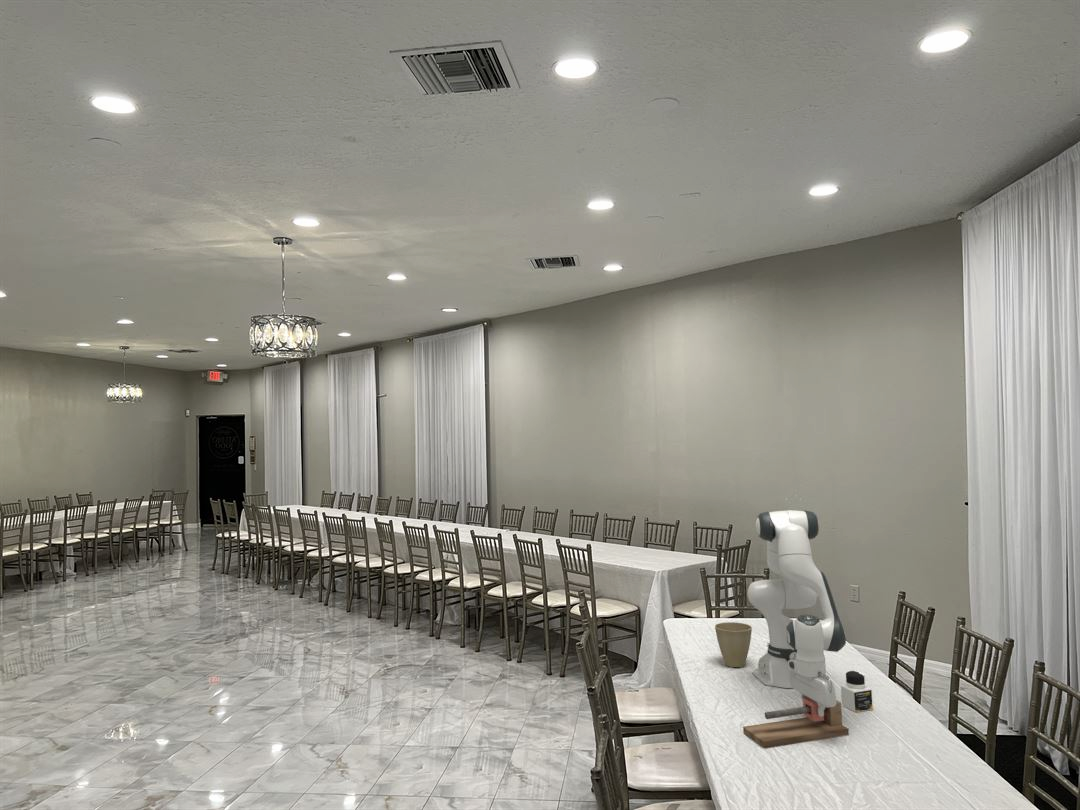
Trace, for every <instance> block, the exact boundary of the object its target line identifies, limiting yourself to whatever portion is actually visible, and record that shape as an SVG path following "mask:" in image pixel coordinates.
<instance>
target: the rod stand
mask: <svg viewBox="0 0 1080 810" xmlns="http://www.w3.org/2000/svg"><path fill="white" fill-rule="evenodd" d="M836 701H837V703H836V705H835V706H834V707H825V709H824V720H822V721H816V722H814V721H812V720H811V719H809V718H807V717H806V716H804V717H799V718H792V719H786V720H780V721H779V720H778V721H774V722H773V721H772V722H766V723H759V724H753V725H752V724H751V725H746V726H743V727H742V728H743V729H742V730H743V734H744V735H745V734H746V736H747V737H748V738H749V737H750V738H749V739H751V740H752V741H754V742H755V743H756V744H758V745H759V746H760V747H762V749H769V748H775V746H776V747H781V746H780V745H782V746H787V745H795V744H800V743H806V741H807V742H813V741H819V740H826V739H832V738H837V737H838V736H839V737H845V736H849V735H850V732H849V727H847V726H845V725H843V714H842V713H843V712H842V701H841V702H840V701H839V700H837V699H836ZM805 713H811V706H805V707H803V706H799V707H793V708H786V709H780V710H771V711H766V712H764V717H765V719H766V720H771V719H777V718H785V717H792V716H797V715H804V714H805ZM844 735H845V736H844ZM831 737H832V738H831Z"/></svg>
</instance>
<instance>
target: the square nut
mask: <svg viewBox="0 0 1080 810" xmlns="http://www.w3.org/2000/svg"><path fill="white" fill-rule="evenodd" d="M805 706H811V713H805V714H803V716H804V717H807V718H809V719H811V720H812V721H814V722H816V721H822V720H824V716H821V717H820V716H818V715H817V714H816V713H817V712H816V709H818V707H819V706H818V704H817V702H816V701H814V700H812V699H811V698H809V697H804V698H803V701H802V707H805Z"/></svg>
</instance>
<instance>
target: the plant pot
mask: <svg viewBox="0 0 1080 810" xmlns="http://www.w3.org/2000/svg"><path fill="white" fill-rule="evenodd" d="M714 629H715V635H716V640H717V643H718V647H719V650H720V653H721V655H722V659H723V662H724V664H725V666H726V665H727V666H726V667H728V666H729V667H728V668H731V667H741V668H744V667H743V666H745V664H746V662H747V658H748V655H749V651H750V646H751V639H752V631H753V627H752V625H750V624H747V623H744V622H738V621H737V622H735V621H733V622H732V621H729V622H728V621H726V622H718V623H716V624H715V625H714Z"/></svg>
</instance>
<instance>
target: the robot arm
mask: <svg viewBox="0 0 1080 810" xmlns="http://www.w3.org/2000/svg"><path fill="white" fill-rule="evenodd" d="M755 530H756V533H757V535H758V538H760V539H762V540H763V541H767V544H766V546H767V547H766V550H767V551H766V552H767V553H766V554H767V555H766V556H767V557H766V559H767V560H766V561H767V562H766V563H767V564H766V565H767V566H768V568H769V569H770V571H772V572H773V573H775V574H777V575H779V576H780V577H782V578H780V579H760V580H756V581H752V582H751V583H750V585H749V586H748V588H747V598H748V601H749V603H750V604H751V605H752V606H753V607H754V608H755V609H757V610H758V611H759V612H760V613H761V614H762V615H763V617H764V619H765V620H766V624H767V627H768V637H769V642H768V643H766V644H767V645H766V647H767V651H766V653H765V654H764V655H762V656H761V657H759V659H758V663H757V666H758V668H757V669H756V668H755V669H754V670H752V674H753V675H754V677H756V678H757V679H758V680H759V681H760V682H761V683H762V684H763V685H764V686H768V687H770V686H771V687H777V688H781V689H782V688H783V689H793V690H795V691H797V692H798V693H799V694H800V698H801V701H802V702H803V698H804V697H809V698H811V699H812V700H814V701H816V702H817V704H818V706H819V707H818V709H816V712H817V713H816V714H817V715H818V716H820V717H821V716H824V709H825V707H834V706H835V705H836V703H837V701H838V700H837V693H836V688H835V684H834V683H833V680H831V678H830V676H828V674H827V669H826V668H827V667H826V665H827V664H826V657H825V656H826V655H825V653H824V652H825V651H826V652H834V653H838V652H839V651H841V650H842V649H843V648H844V647H845V646H846V644H847V635H846V632H845V629H844V627H843V625H842V624H843V623H842V621H841V619H840V616H839V613H838V609H837V607H836V604H835V603H836V602H835V600H834V597H833V593H832V591H831V587H830V585H829V582H828V580H827V576H826V575H825V573H824V572H823V571H822V570H819V569H818V568H817V566H816V564H815V563H814V559H813V554H812V547H811V543H810V540H813V539H816V537H817V536H818V535H819V531H820V522H819V519H818V516H817V514H816V513H815V512H814V511H810V510H794V509H792V510H791V509H787V510H786V509H785V510H777V511H763V512H761V513H759V514H758V515H757V516H756V521H755ZM817 599H819V603H820V606H821V609H822V612H823V615H824V619H823V620H822V619H821V618H819V617H818V616H815V615H812V614H801V615H798V616H797V617H796V618H795V620H794V619H792V618H790V617H788V616H786V615H784V614H783V612H782V610H789V609H791V610H792V609H793V610H794V609H795V610H797V609H798V610H800V609H801V610H802V609H806V608H810V607H813V606H814V605H815V604H816V602H817ZM836 700H837V701H836Z"/></svg>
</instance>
